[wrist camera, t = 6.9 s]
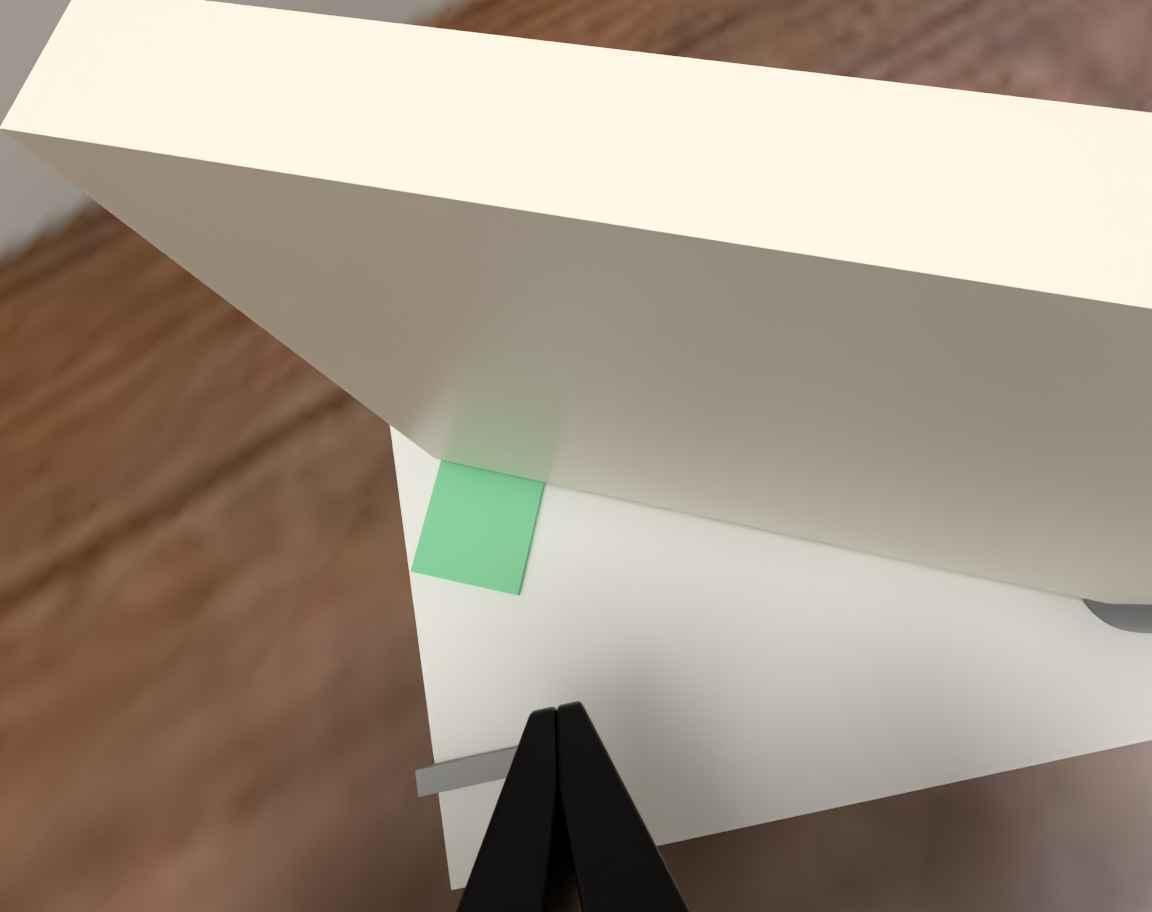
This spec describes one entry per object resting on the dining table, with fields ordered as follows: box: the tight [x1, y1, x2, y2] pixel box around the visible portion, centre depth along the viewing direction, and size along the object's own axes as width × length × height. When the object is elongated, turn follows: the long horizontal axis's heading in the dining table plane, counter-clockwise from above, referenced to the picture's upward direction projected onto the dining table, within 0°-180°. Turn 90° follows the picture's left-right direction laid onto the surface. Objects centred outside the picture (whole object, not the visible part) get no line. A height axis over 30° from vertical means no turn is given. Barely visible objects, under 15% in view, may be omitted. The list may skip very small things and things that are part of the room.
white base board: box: [390, 425, 1152, 890], centre depth 15 cm, size 20×14×1 cm
